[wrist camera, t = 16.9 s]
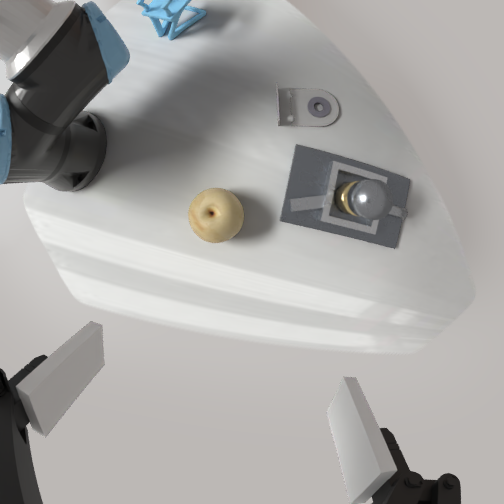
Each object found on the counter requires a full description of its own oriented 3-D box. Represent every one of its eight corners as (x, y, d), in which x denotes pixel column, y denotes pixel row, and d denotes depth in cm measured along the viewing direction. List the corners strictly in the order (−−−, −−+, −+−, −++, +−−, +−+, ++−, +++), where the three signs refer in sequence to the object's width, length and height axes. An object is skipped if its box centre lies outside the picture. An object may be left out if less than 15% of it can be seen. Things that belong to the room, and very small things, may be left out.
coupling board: (279, 220, 43) (281, 222, 40) (295, 145, 41) (298, 141, 37) (392, 247, 43) (401, 251, 40) (407, 179, 41) (417, 179, 37)
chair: (149, 34, 37) (123, 2, 25) (174, 4, 35) (156, -31, 23) (181, 44, 37) (160, 9, 26) (207, 13, 36) (194, -25, 24)
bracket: (338, 128, 40) (344, 123, 37) (276, 126, 41) (277, 121, 37) (335, 92, 39) (341, 84, 36) (274, 89, 39) (275, 81, 36)
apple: (214, 252, 44) (182, 246, 37) (206, 207, 46) (174, 194, 39) (258, 236, 41) (230, 226, 34) (246, 188, 43) (218, 171, 36)
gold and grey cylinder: (332, 209, 41) (352, 214, 32) (339, 178, 40) (361, 174, 31) (361, 217, 42) (388, 224, 32) (368, 187, 41) (396, 185, 31)
